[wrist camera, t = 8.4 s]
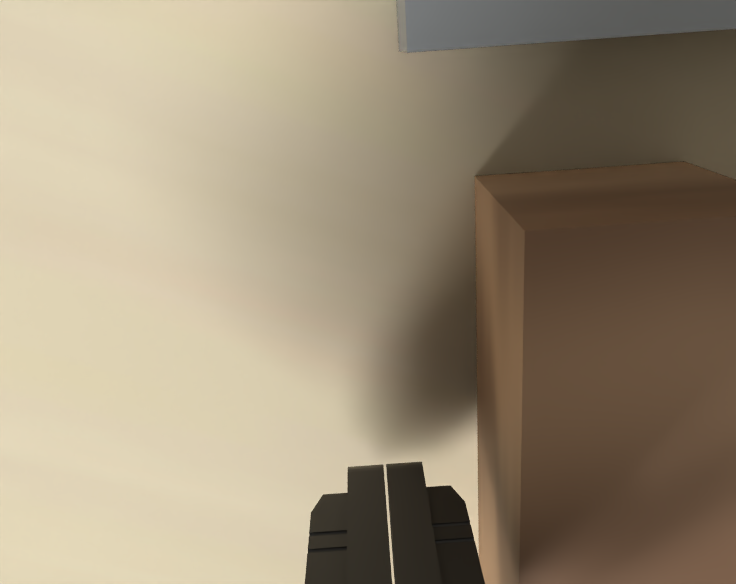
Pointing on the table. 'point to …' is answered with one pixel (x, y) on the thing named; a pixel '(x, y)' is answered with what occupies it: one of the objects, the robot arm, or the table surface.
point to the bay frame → (550, 21)
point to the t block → (606, 375)
